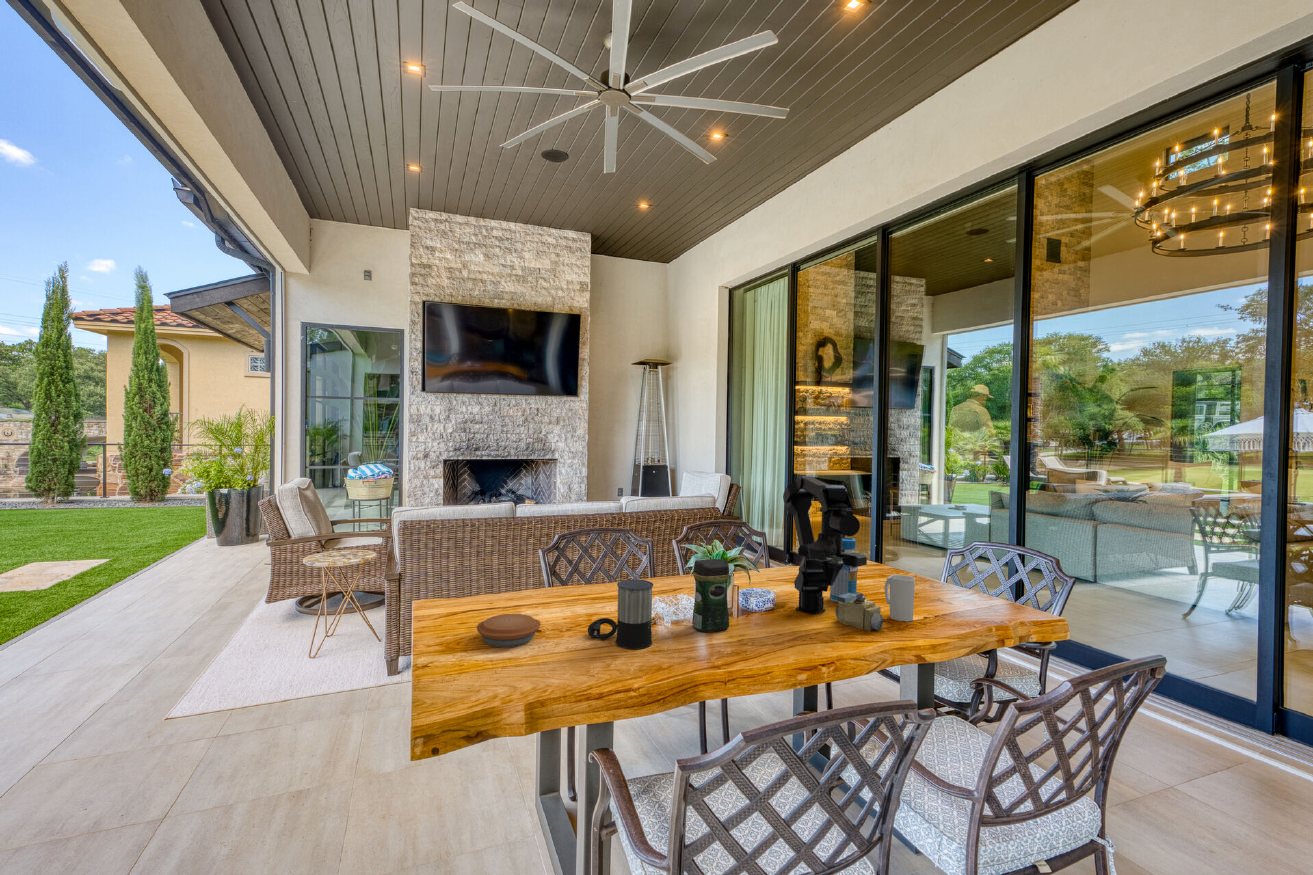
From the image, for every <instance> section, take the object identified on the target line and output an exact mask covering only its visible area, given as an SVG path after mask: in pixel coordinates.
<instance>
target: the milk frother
mask: <svg viewBox="0 0 1313 875" xmlns="http://www.w3.org/2000/svg"><path fill="white" fill-rule="evenodd" d="M616 585H617V623H616V621H615V620H613V619H611V618H609V617H608V618H607V617H601V618H599V619H596V620H594V621H593V622H591V623H590V624H589V626H587V627H588V628H587V633H588V635H589V636H590V637H591V638H593V639H597V640H598V639H599V640H607V639H609V638H611V637H613V636H614V635H615V634H616V638H615V641H614V642H615V644H616V645H617V646H618V647H620V648H623V649H628V650H638V649H640V650H641V649H646V648H648V647H651V646H652V644H653V638H652V636H653V635H652V622H653V621H652V611H653V587H654V583H653V582H651V581H650V580H647V579H646V580H645V579H637V578H636V579H634V578H633V579H623V580H620V581H618V582H616ZM604 624H606V625H609V626H610V627H611V628H612V629H610V631H609V632H607V633H601V625H604Z"/></svg>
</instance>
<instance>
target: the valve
mask: <svg viewBox="0 0 1313 875" xmlns="http://www.w3.org/2000/svg"><path fill="white" fill-rule="evenodd" d="M875 604H876V601H872V600H868V599H866V601H865V602H857V601H850V602H847V603H843V602H839V603H838V605H837V606H836V609H835V616H836V618H837V622H838V623H840V622H841V623H840V624H843V623H845V624H844V625H846V624H847V625H846V626H849V625H850V626H849V627H853V626H854V627H853V628H856V629H859V628H860V630H864V631H867V630H868V631H867V632H872V631H873V630H874V631H877V632H878V631H880V630H881V629H882V628H883V625H884V617H883V614H881V611H882V610H881V609H882V608H881V606H877V605H875ZM871 630H872V631H871Z"/></svg>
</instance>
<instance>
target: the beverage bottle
mask: <svg viewBox="0 0 1313 875" xmlns="http://www.w3.org/2000/svg"><path fill="white" fill-rule="evenodd" d="M856 543H857V542H856V539H855V538H852V537H848V536H845V538H842V548H845V552H842V554H847V553H852V552H854V551H856V546H857V544H856ZM834 556H836V555H834ZM858 570H859V567H852V566H847V565H844V566H843V567H842V569H841V570H840V572H839V574H838V576H837V578H836V580H835V582H834V584H833V585H832V586H829V587H830V589H829V590H830V592H829V599H830V600H831V601H832V602H834V603H837V602H838V604H839V601H837V598H838V596H840V595H843V594H847V593H854V592H857V586H858V585H857V583H858V582H857V581H858Z"/></svg>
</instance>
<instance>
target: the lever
mask: <svg viewBox="0 0 1313 875" xmlns="http://www.w3.org/2000/svg"><path fill="white" fill-rule="evenodd" d="M866 600H867V598H866V595H864V593H863V592H858V591H856V592H854V593H847V594H843V595H840V596H838V598H837V601H839V602H843V603H847V602H850V601H857V602H865V601H866Z"/></svg>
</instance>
